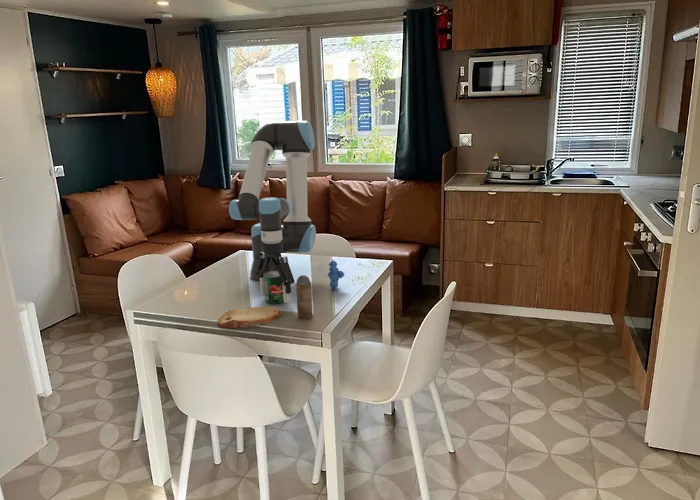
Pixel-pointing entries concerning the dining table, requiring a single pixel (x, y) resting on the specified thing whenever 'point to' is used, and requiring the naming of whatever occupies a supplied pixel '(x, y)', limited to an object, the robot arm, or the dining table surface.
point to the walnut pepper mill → (304, 297)
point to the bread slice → (248, 317)
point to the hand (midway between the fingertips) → (275, 297)
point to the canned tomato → (273, 288)
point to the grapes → (334, 274)
